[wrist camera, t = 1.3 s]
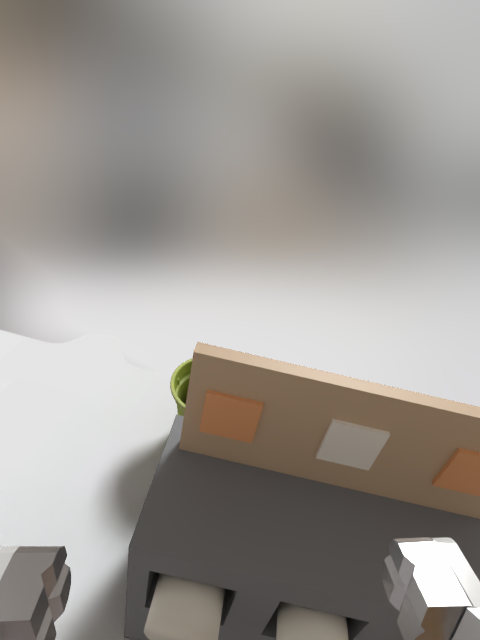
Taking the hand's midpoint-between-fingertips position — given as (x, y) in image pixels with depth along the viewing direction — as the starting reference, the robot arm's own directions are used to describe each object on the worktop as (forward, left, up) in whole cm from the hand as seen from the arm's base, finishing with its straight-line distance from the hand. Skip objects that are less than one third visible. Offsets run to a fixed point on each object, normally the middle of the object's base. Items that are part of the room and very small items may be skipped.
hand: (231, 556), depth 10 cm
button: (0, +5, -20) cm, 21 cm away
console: (+8, +11, -27) cm, 30 cm away
